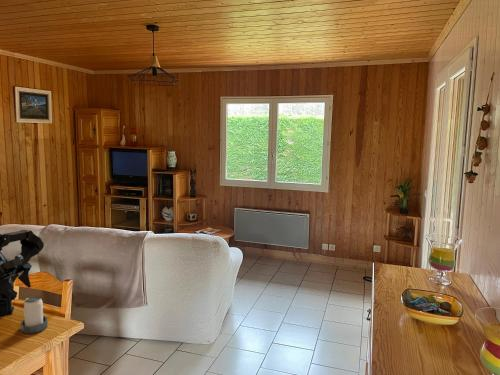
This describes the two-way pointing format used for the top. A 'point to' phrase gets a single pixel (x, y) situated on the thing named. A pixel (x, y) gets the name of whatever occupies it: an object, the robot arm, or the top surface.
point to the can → (33, 311)
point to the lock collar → (34, 327)
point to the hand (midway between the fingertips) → (20, 291)
